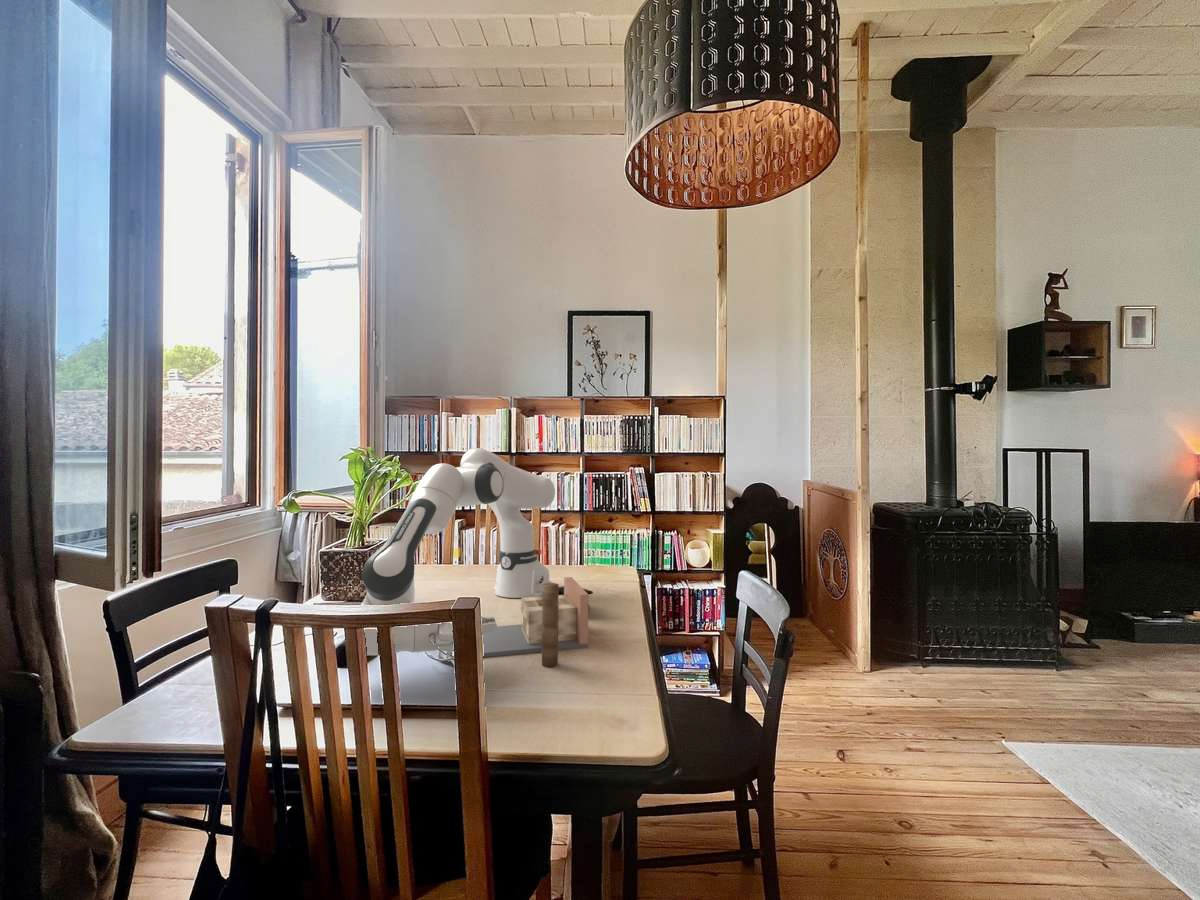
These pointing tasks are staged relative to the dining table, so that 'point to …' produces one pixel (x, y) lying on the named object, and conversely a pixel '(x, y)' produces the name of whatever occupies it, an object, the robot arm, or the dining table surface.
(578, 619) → the backstop
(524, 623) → the block
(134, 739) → the dining table surface
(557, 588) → the dowel
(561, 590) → the figurine character
